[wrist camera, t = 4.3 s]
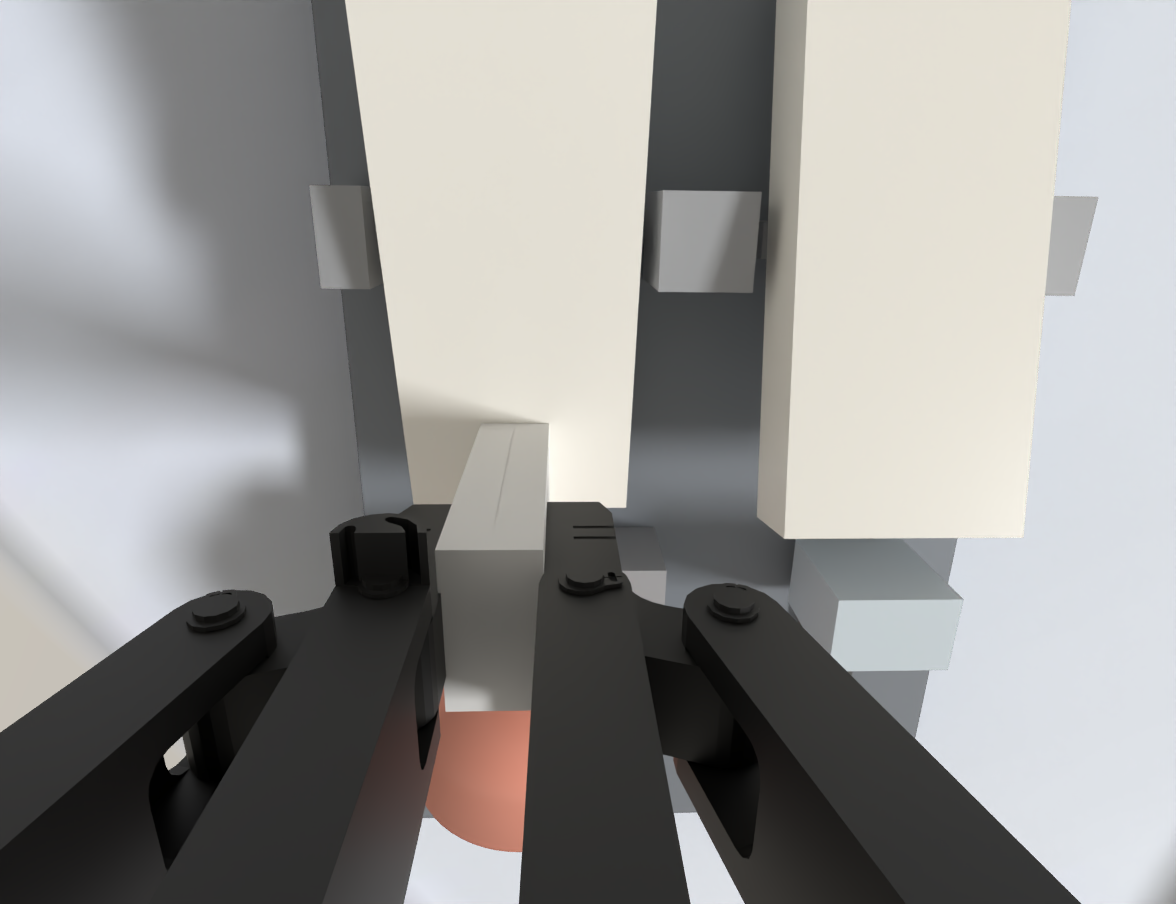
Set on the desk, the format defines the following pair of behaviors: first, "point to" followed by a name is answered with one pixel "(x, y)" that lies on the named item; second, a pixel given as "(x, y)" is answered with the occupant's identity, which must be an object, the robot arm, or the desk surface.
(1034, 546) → the desk surface
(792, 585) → the block
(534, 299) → the block
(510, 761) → the button
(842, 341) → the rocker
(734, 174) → the panel
